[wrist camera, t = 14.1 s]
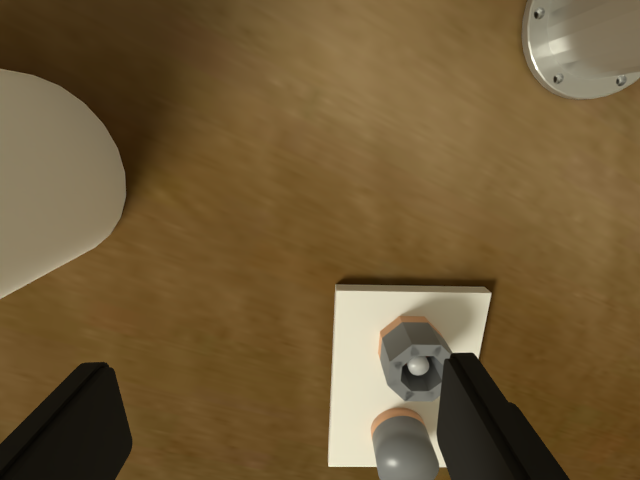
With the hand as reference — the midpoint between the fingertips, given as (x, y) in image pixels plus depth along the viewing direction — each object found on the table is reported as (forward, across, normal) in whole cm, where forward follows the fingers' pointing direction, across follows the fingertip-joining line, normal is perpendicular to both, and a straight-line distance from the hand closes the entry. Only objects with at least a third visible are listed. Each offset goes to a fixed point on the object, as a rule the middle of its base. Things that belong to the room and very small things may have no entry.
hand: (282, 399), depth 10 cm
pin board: (+25, -10, +21) cm, 34 cm away
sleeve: (+24, -10, +15) cm, 30 cm away
